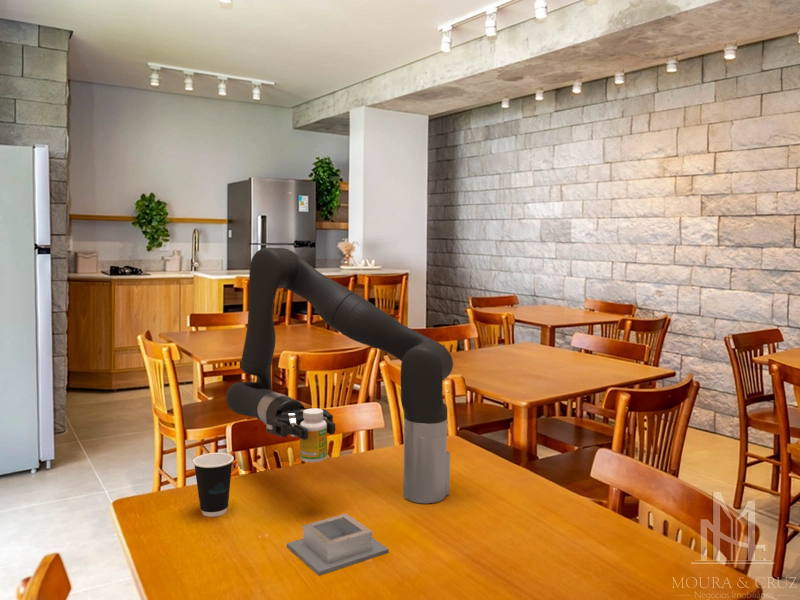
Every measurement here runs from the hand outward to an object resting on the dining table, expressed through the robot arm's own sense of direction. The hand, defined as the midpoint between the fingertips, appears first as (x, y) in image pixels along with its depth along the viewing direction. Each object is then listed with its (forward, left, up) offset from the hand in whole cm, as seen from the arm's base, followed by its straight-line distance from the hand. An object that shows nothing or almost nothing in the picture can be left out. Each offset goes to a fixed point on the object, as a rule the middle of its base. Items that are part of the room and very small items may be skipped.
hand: (319, 431), depth 129 cm
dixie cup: (+16, -15, -18) cm, 28 cm away
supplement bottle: (0, -3, -6) cm, 7 cm away
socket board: (+4, +13, -18) cm, 23 cm away
